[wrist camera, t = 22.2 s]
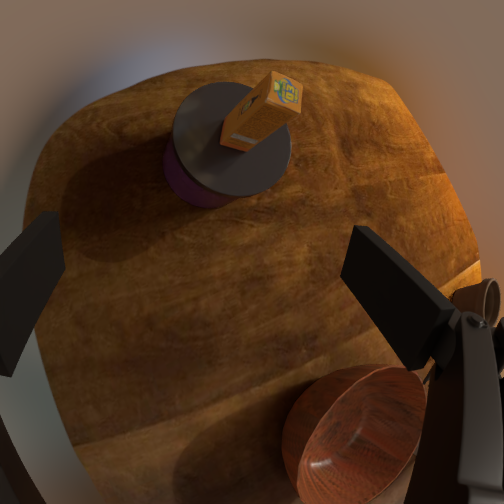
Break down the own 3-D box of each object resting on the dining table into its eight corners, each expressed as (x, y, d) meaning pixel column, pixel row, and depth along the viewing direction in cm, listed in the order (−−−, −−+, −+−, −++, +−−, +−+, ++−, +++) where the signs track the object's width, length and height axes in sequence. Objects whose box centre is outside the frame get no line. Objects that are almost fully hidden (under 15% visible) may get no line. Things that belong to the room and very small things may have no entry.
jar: (158, 213, 38) (173, 195, 29) (159, 116, 38) (174, 75, 29) (256, 212, 43) (296, 197, 34) (250, 122, 44) (285, 91, 34)
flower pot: (470, 281, 66) (503, 282, 57) (464, 327, 65) (498, 331, 56) (449, 274, 62) (486, 274, 53) (442, 325, 60) (480, 330, 51)
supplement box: (249, 154, 32) (302, 116, 23) (217, 145, 31) (261, 100, 22) (254, 126, 32) (305, 83, 23) (224, 116, 31) (267, 67, 22)
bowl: (321, 319, 47) (375, 330, 36) (398, 385, 54) (443, 400, 44) (225, 455, 40) (258, 499, 29) (326, 491, 47) (364, 520, 37)
